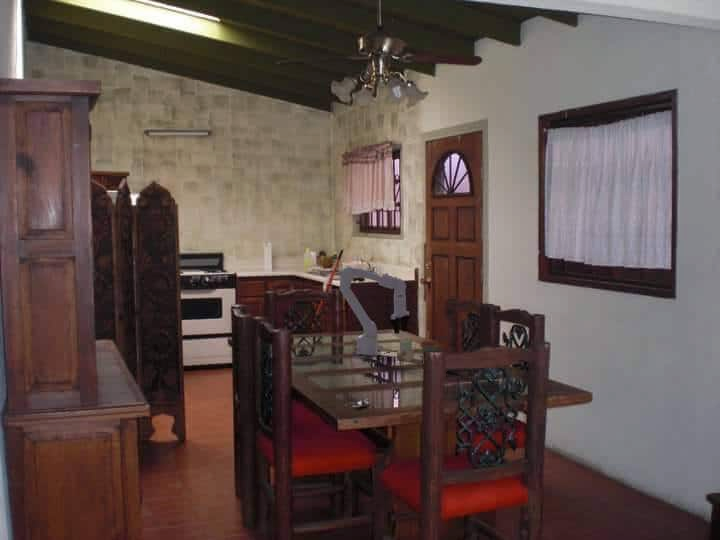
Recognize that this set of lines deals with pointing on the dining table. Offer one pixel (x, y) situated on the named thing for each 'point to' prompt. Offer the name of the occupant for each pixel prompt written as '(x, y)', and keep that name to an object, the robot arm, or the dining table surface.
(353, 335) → the dining table surface
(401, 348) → the sage brick
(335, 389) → the dining table surface
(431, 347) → the cupcake
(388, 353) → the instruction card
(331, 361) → the dining table surface
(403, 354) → the beech base brick
